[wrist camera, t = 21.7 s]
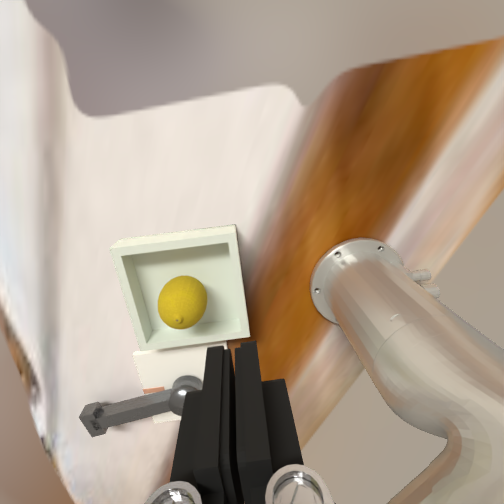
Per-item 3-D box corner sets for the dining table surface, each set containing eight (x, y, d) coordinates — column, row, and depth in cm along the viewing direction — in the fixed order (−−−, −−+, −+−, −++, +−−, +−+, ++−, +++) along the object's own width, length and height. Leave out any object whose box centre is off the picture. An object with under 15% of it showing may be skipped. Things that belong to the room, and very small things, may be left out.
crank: (197, 372, 42) (195, 388, 39) (207, 394, 44) (205, 411, 41) (86, 401, 43) (76, 419, 40) (99, 422, 44) (91, 441, 42)
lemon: (207, 264, 37) (201, 295, 30) (211, 302, 39) (206, 341, 32) (162, 266, 37) (145, 299, 29) (168, 305, 39) (154, 344, 31)
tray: (235, 224, 36) (235, 232, 33) (248, 321, 41) (250, 336, 38) (120, 238, 36) (109, 248, 33) (147, 334, 41) (140, 351, 38)
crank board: (226, 339, 42) (225, 343, 41) (237, 407, 47) (238, 412, 46) (134, 351, 42) (132, 356, 41) (155, 418, 46) (153, 423, 46)
